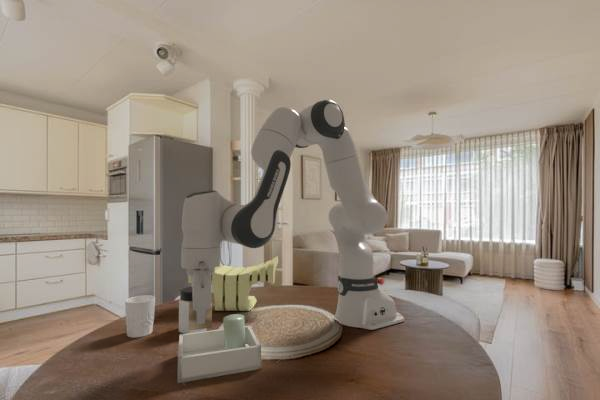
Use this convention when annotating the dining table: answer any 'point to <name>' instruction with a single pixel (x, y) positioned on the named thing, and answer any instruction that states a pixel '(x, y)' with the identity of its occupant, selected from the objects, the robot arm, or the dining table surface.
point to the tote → (215, 355)
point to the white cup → (139, 315)
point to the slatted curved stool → (239, 285)
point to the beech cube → (193, 318)
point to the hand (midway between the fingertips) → (200, 318)
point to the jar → (185, 311)
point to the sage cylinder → (234, 331)
